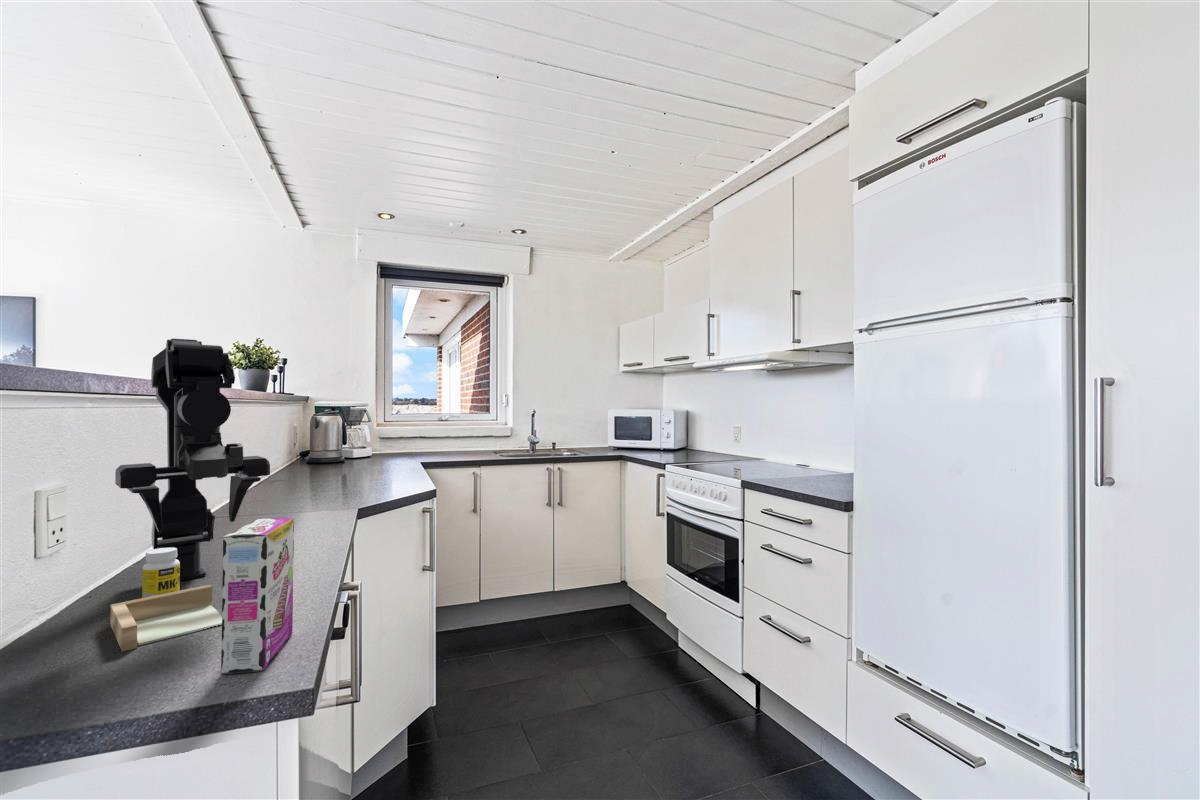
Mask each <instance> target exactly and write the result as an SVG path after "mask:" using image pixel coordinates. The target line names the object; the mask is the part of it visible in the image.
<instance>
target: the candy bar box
mask: <svg viewBox="0 0 1200 800" xmlns="http://www.w3.org/2000/svg"><path fill="white" fill-rule="evenodd" d="M294 530H295V518H294V517H274V518H273V517H271V518H259V519H258V518H257V519H256V520H254V521H252V522H250V523H248V524H245V525H243V526H241V527H240V528H238V529H236V530H234V531H232V532H230V533H228V534H226V535H224V536H223V537H222V583H221V584H222V587H221V590H222V591H221V600H222V601H221V603H222V604H221V606H222V607H221V616H222V625H221V644H220V645H221V646H220V647H221V652H220V653H221V655H220V656H221V657H220V660H221V661H220V663H221V664H220V665H221V667H220V674H221V675H231V674H240V673H243V674H245V673H255V672H262V671H264V670H265V669H266V668H268V667H267V666H268V665H270V663H271V662H272V660H273V659H274V658H275V656H276V655H277V653H279V651H280V650H281V649H282V647H284V645H285V644H286V643H287V641H288V640H289V639H290V637H291V636H292V635H293V626H294V625H293V623H294V622H293V614H294V613H293V612H294V611H293V610H294V609H293V608H294V607H293V605H294V603H293V602H294V601H293V600H294V558H295V557H294V555H295V554H294V549H295V547H294V546H295V544H294V543H295V542H294V541H295V538H294V536H295V535H294V533H295V531H294Z"/></svg>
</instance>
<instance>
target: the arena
mask: <svg viewBox="0 0 1200 800" xmlns="http://www.w3.org/2000/svg"><path fill="white" fill-rule="evenodd" d="M109 609H110V616H109V617H110V619H109V620H110V628H111V630H112V632H113V634H114V637H115V639H116V640H117V644H118V645H119V648H120V650H121V653H122V652H127V651H131V650H135V649H138V647H139V646H144V645H148V644H152V643H155V642H159V641H163V640H168V639H171V638H174V637H179V636H183V635H187V634H191V633H194V632H195V633H196V632H199V631H203V629H204V630H207V628H208V629H210V627H212V628H215V627H214V626H216V627H219V626H218V625H220V626H222V613H220V612H219V611H218V610H217V609H216V608H215V607H213V585H212V584H206V585H201V586H197V587H191V588H186V589H181V590H180V591H175V592H170V593H165V594H160V595H155V596H151V597H146V598H142V597H141V598H137V599H132V600H126V601H122V602H116V603H111V604H110V608H109Z"/></svg>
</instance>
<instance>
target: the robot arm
mask: <svg viewBox="0 0 1200 800" xmlns="http://www.w3.org/2000/svg"><path fill="white" fill-rule="evenodd" d="M229 357H230V356H229V354H228V352H224V348H223V347H222V346H221V345H213V344H202V341H199V340H197V339H186V338H174V337H173V338H171V339H166V342H165V348H164V349H163V350H161V351H160V352H158V353H157V354H156V355H155V356H153V358H152V360H151V361H152V363H151V372H150V373H151V374H150V375H151V377H150V381H151V388H152V389H155V396H156V397H155V398H156V400H157V401H158V402H159V403H160V404H161V406H162V407H163V408H164V409H165V411H166V434H167V435H166V438H167V440H166V441H167V443H166V444H167V445H166V447H167V448H166V449H167V466H164V467H162V466H161V467H156V465H154V464H153V463H150V462H146V463H132V464H128V463H127V464H121V465H119V466H118V467H117V468H116V469H115V474H114V475H115V477H114V478H115V480H114V481H115V486H117V487H118V488H119V489H126V490H128V491H129V492H130V493H132V494H138V495H139V496H140V497H141V499H142V500H143V502H144V504H145V506H146V508H147V510H148V513H149V516H150V517H151V520H152V524H151V525H152V526H151V527H152V528H151V546H152V548H153V549H152V550H154V549H160V548H177V558H175V559H177V560H179V562H180V581H184V579H185V580H189V579H194V578H199V577H200V576H201V577H206V576H207V571H205V570H204V569H203V568H202V567H201V543H204V542H205V543H206V542H208V543H209V542H211V540H214V530H215V529H214V528H215V520H216V516H215V515H214V514H213V512H212V510H211V508H208V500H207V499H206V498H205V495H203V494H202V492H201V491H200V490H199V489H198V488H197V481H200V480H203V479H206V478H218V479H223V478H226V477H227V476H228V475H229V474H231V475H230V482H229V483H230V484H229V501H228V502H229V503H228V519H229V522H230V523H233V522H234V523H235V520H236V519H237V518H236V517H237V515H238V513H239V510H240V508H241V505H242V502H243V499H245V496H246V494H247V492H248V490H249V489H250V487H251V486H252V485H253V484H254V483H257V482H260V481H261V479H262V478H261V477H266V476H271V464H270V461H269V460H268V459H267V458H266V457H263V456H260V455H248V456H244V446H243V444H242V443H241V442H238V443H227V444H225V445H223V441H222V433H221V426H222V425H223V424H225V423H226V422H227V421H228V420H229V417H230V415H231V411H232V409H231V408H232V407H231V404H230V402H229V400H228V398H227V397H226V395H224V394H223V393H222V392H221V389H232V387H233V385H234V384H235V380H236V376H235V369H234V367H233V361H232V360H231V359H230V358H229ZM233 474H234V475H233ZM161 480H167V491H166V493H165V494H164V495H163V497H162V499H160V488H159V486H157V485H155V483H156V481H161Z"/></svg>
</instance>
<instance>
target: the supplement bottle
mask: <svg viewBox="0 0 1200 800" xmlns="http://www.w3.org/2000/svg"><path fill="white" fill-rule="evenodd" d="M175 558H177V548H157V549H150V550H148V551H146V552H145V562H146V563H145V564H143V566H142V581H141V582H142V583H141V584H142V586H141V587H142V588H141V589H142V591H141V594H142V595H141V598H146V597H151V596H155V595H160V594H165V593H170V592H175V591H180V586H181V585H180V583H181V580H180V562H179V560H177V559H175Z"/></svg>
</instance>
